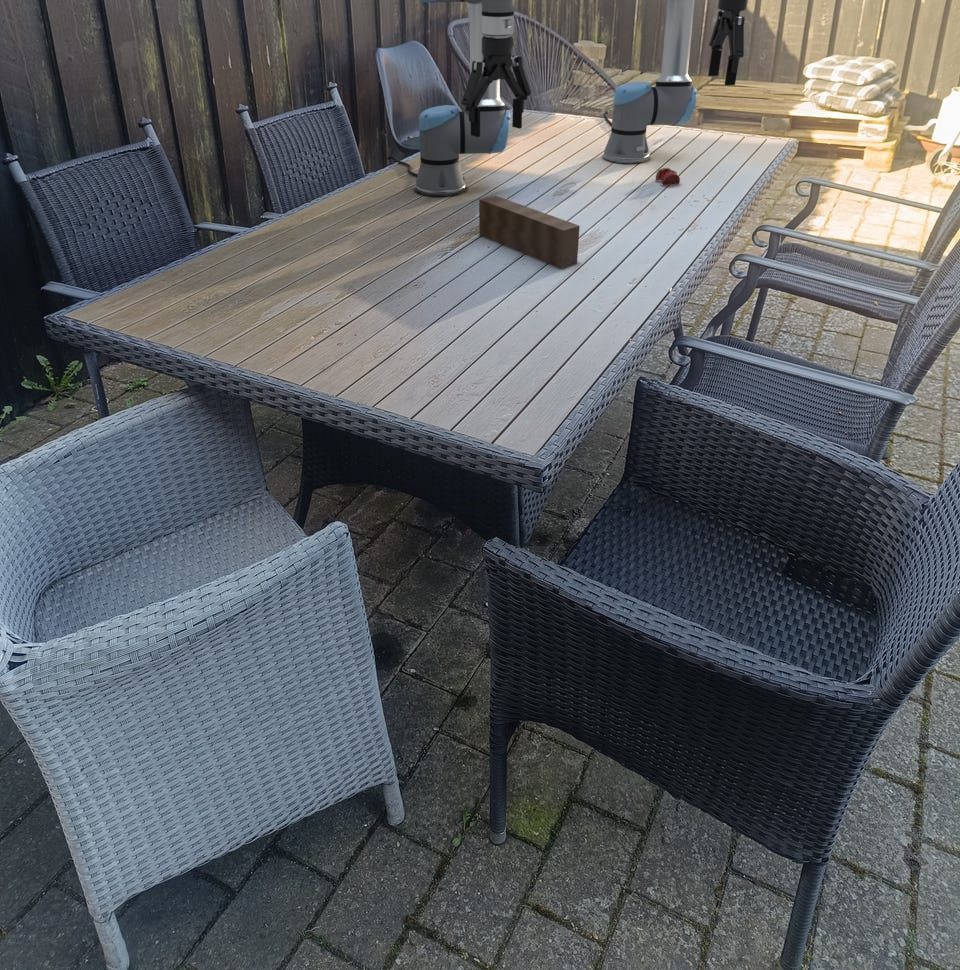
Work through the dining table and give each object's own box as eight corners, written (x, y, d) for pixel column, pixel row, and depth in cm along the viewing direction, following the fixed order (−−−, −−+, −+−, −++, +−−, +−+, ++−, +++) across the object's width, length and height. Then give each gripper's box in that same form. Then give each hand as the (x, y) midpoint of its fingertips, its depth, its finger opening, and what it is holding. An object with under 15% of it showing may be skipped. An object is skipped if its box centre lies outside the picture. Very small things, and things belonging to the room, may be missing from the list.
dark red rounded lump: (671, 164, 266) (682, 171, 259) (670, 177, 268) (681, 185, 262) (654, 166, 265) (665, 173, 258) (653, 179, 267) (664, 187, 261)
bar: (479, 234, 226) (479, 199, 220) (494, 230, 228) (494, 195, 223) (561, 268, 206) (563, 230, 200) (577, 263, 209) (579, 225, 203)
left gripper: (466, 43, 188) (467, 142, 200) (547, 32, 201) (543, 126, 213) (445, 39, 193) (447, 136, 205) (526, 29, 206) (523, 121, 218)
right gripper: (766, -3, 213) (750, 88, 226) (731, -13, 234) (719, 71, 246) (737, -2, 213) (723, 89, 225) (705, -12, 233) (694, 72, 245)
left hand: (496, 131), depth 209 cm, fingers open, 13 cm apart
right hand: (721, 80), depth 236 cm, fingers open, 13 cm apart
